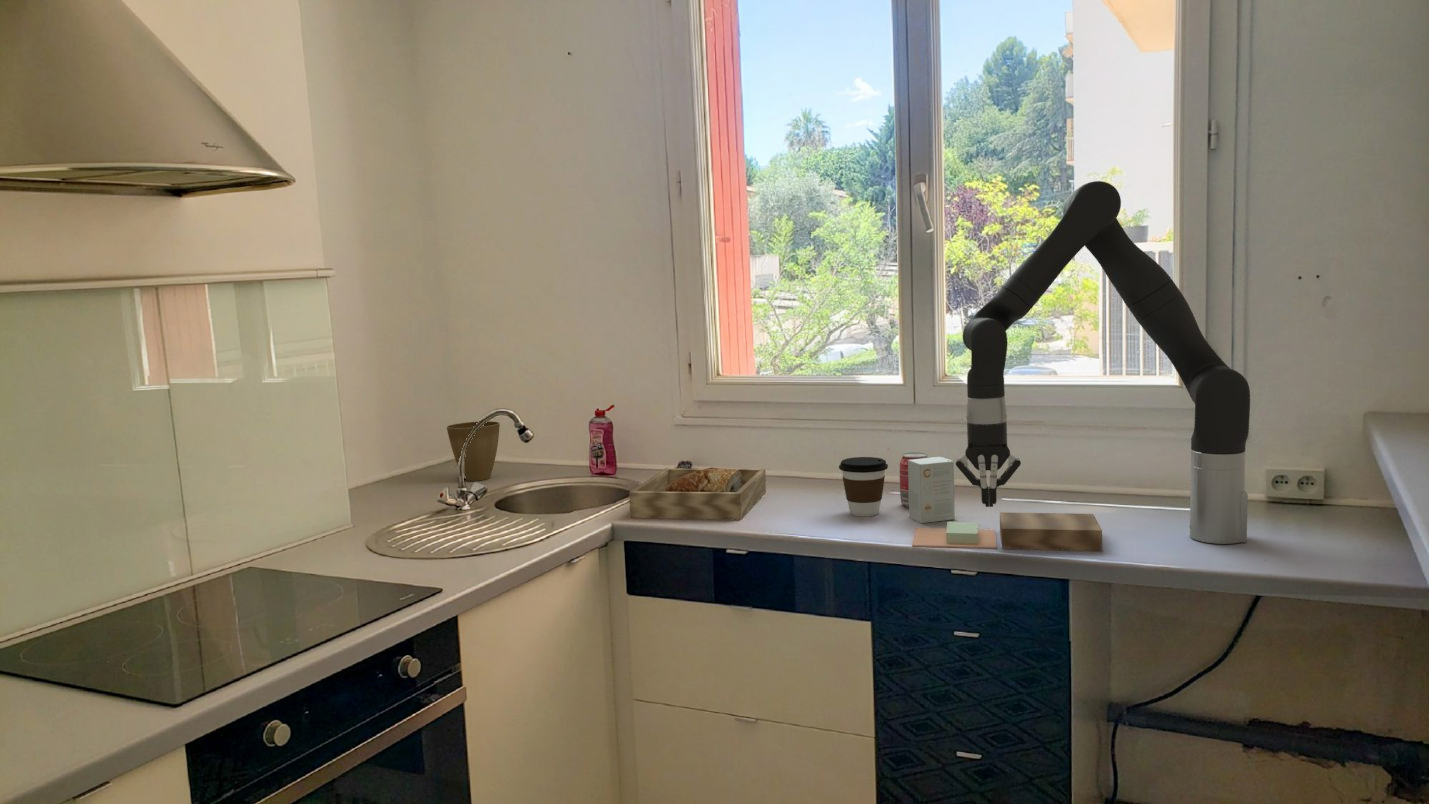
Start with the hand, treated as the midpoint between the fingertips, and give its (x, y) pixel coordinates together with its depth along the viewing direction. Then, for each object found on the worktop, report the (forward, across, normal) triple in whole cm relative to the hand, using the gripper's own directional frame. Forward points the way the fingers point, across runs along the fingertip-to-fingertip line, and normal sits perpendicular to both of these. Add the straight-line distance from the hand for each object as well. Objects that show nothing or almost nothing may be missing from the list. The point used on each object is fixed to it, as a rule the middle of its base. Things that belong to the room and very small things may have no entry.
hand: (989, 505), depth 193 cm
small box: (+7, +12, -17) cm, 22 cm away
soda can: (+7, +16, -29) cm, 33 cm away
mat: (+7, +7, 0) cm, 10 cm away
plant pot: (+5, +142, -55) cm, 152 cm away
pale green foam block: (+4, +5, 0) cm, 7 cm away
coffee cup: (+7, +27, -21) cm, 35 cm away
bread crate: (+6, +67, -27) cm, 72 cm away
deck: (+7, -11, 0) cm, 13 cm away
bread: (+6, +66, -25) cm, 71 cm away
